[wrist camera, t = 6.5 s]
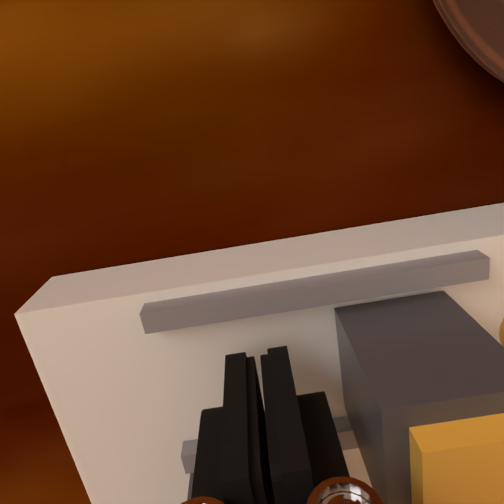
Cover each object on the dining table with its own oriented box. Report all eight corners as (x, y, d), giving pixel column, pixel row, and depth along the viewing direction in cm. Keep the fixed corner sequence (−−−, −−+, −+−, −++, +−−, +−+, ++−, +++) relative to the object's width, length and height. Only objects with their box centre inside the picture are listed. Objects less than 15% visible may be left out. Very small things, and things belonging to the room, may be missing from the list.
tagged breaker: (334, 307, 12) (392, 435, 7) (443, 290, 11) (568, 408, 7) (344, 406, 13) (399, 566, 8) (443, 391, 13) (551, 545, 8)
